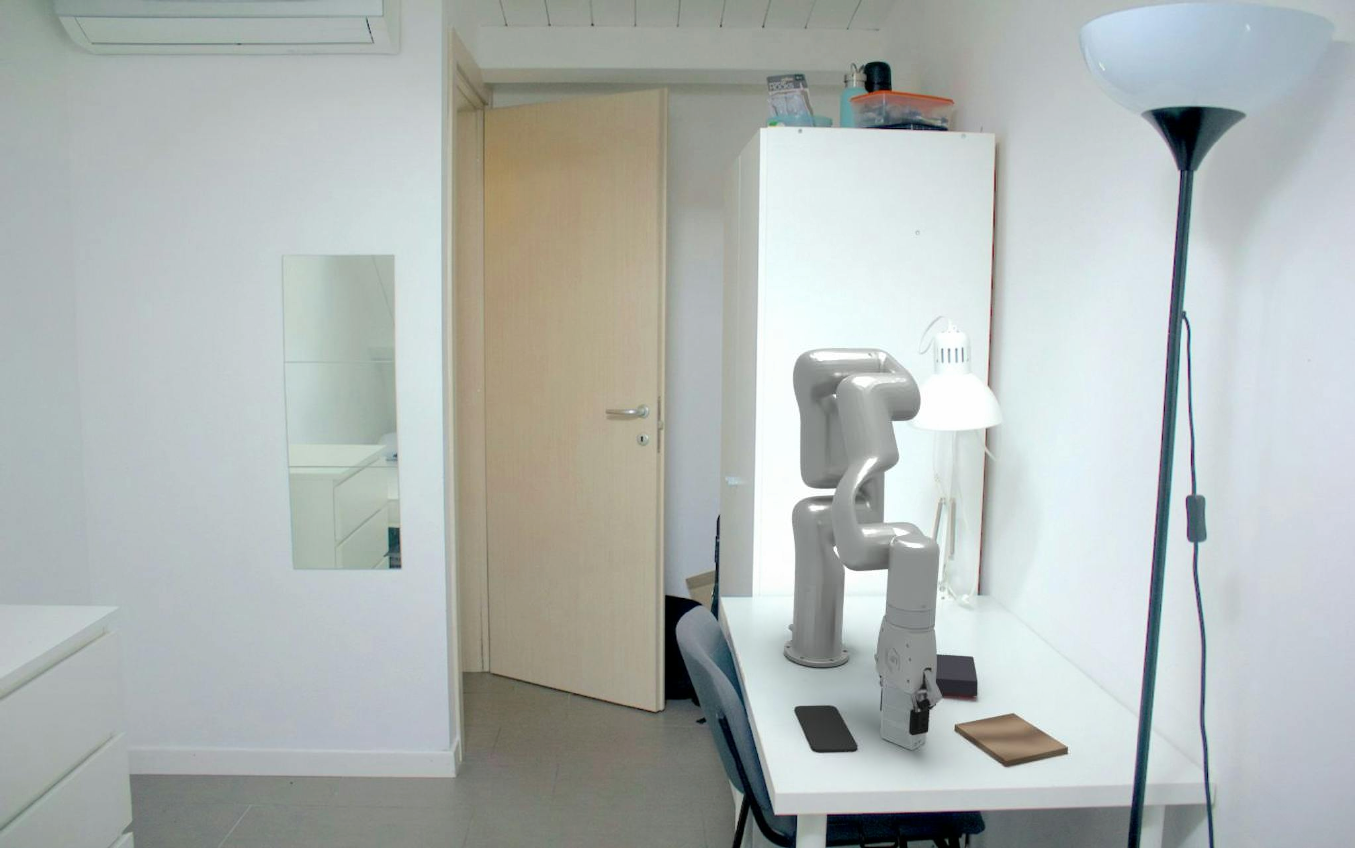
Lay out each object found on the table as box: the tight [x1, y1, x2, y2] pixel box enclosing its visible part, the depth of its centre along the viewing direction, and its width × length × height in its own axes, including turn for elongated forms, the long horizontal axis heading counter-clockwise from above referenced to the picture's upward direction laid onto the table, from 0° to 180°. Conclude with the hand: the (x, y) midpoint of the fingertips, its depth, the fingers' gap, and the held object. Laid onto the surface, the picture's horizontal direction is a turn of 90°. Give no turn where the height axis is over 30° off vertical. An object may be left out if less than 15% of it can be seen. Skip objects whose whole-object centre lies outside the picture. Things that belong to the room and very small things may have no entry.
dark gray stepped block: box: [936, 653, 979, 699], centre depth 164 cm, size 11×4×15 cm
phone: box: [793, 704, 858, 754], centre depth 147 cm, size 7×1×15 cm
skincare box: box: [879, 667, 927, 751], centre depth 142 cm, size 6×4×12 cm
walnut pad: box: [953, 712, 1069, 768], centre depth 143 cm, size 12×12×1 cm
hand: (903, 721), depth 143 cm, fingers closed on skincare box, 7 cm apart
